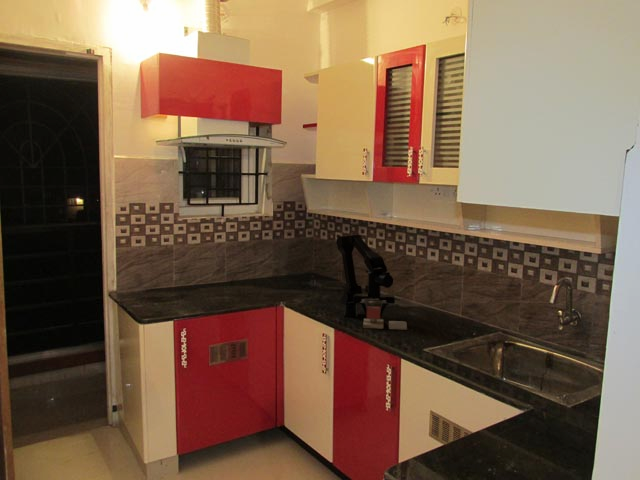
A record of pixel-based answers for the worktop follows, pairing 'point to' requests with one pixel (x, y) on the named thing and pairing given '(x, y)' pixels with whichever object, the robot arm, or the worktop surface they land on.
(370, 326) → the post stand
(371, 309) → the red cuboid block
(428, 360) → the worktop surface
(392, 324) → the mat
